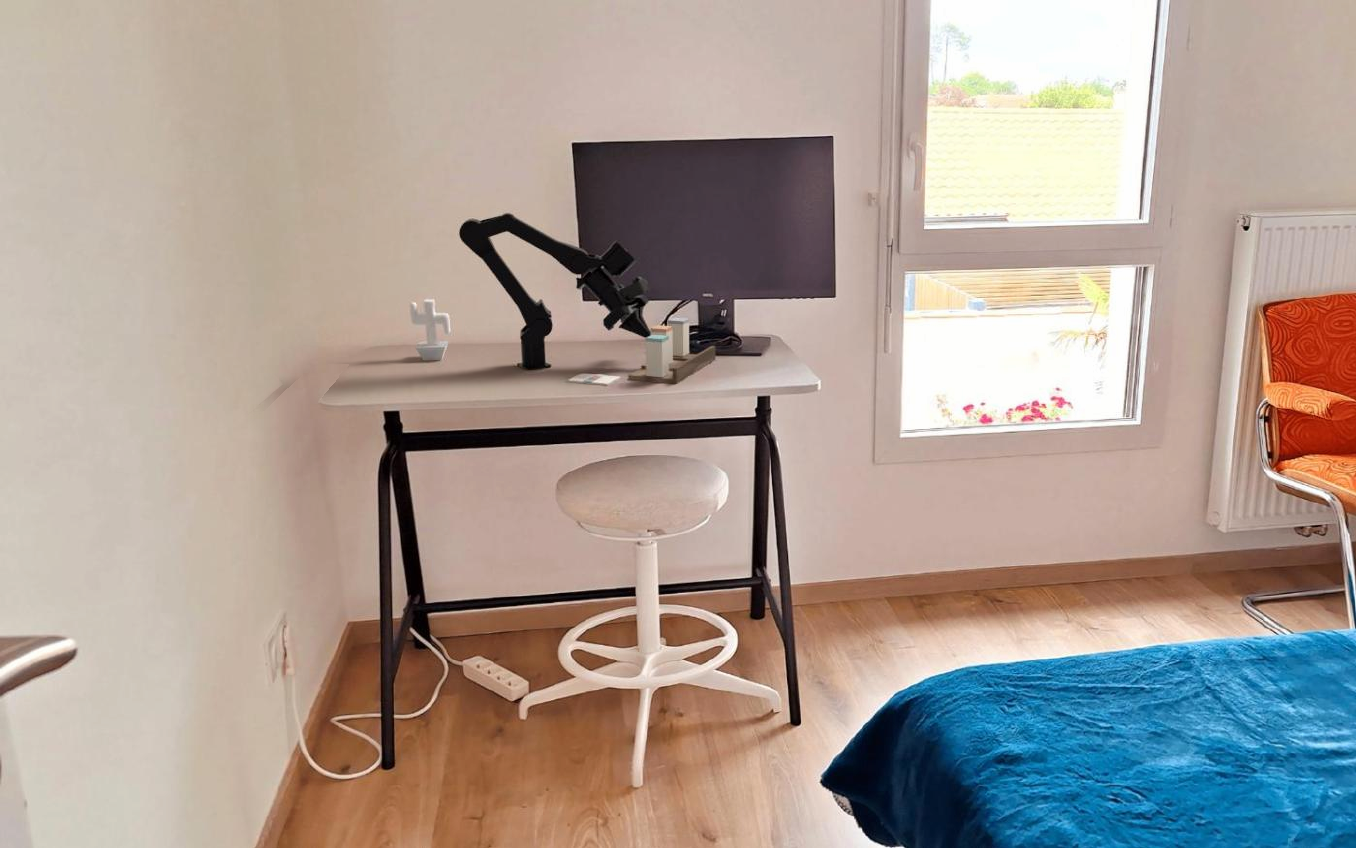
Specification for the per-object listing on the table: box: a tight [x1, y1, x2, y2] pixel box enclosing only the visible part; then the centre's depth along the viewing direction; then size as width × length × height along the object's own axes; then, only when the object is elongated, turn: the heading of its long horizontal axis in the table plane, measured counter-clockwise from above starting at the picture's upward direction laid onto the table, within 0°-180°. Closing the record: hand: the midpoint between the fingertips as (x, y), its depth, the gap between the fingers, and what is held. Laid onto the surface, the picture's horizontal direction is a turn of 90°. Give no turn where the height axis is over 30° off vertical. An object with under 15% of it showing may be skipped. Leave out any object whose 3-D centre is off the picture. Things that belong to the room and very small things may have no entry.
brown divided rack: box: [627, 345, 716, 385], centre depth 234 cm, size 12×26×4 cm, turn 158°
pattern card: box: [567, 373, 622, 386], centre depth 225 cm, size 10×7×1 cm
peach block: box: [650, 324, 673, 364], centre depth 234 cm, size 4×4×9 cm
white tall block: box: [645, 335, 669, 377], centre depth 223 cm, size 4×4×9 cm
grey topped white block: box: [667, 317, 690, 356], centre depth 244 cm, size 4×4×9 cm
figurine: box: [409, 298, 451, 362], centre depth 246 cm, size 7×9×15 cm
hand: (650, 337), depth 235 cm, fingers closed
